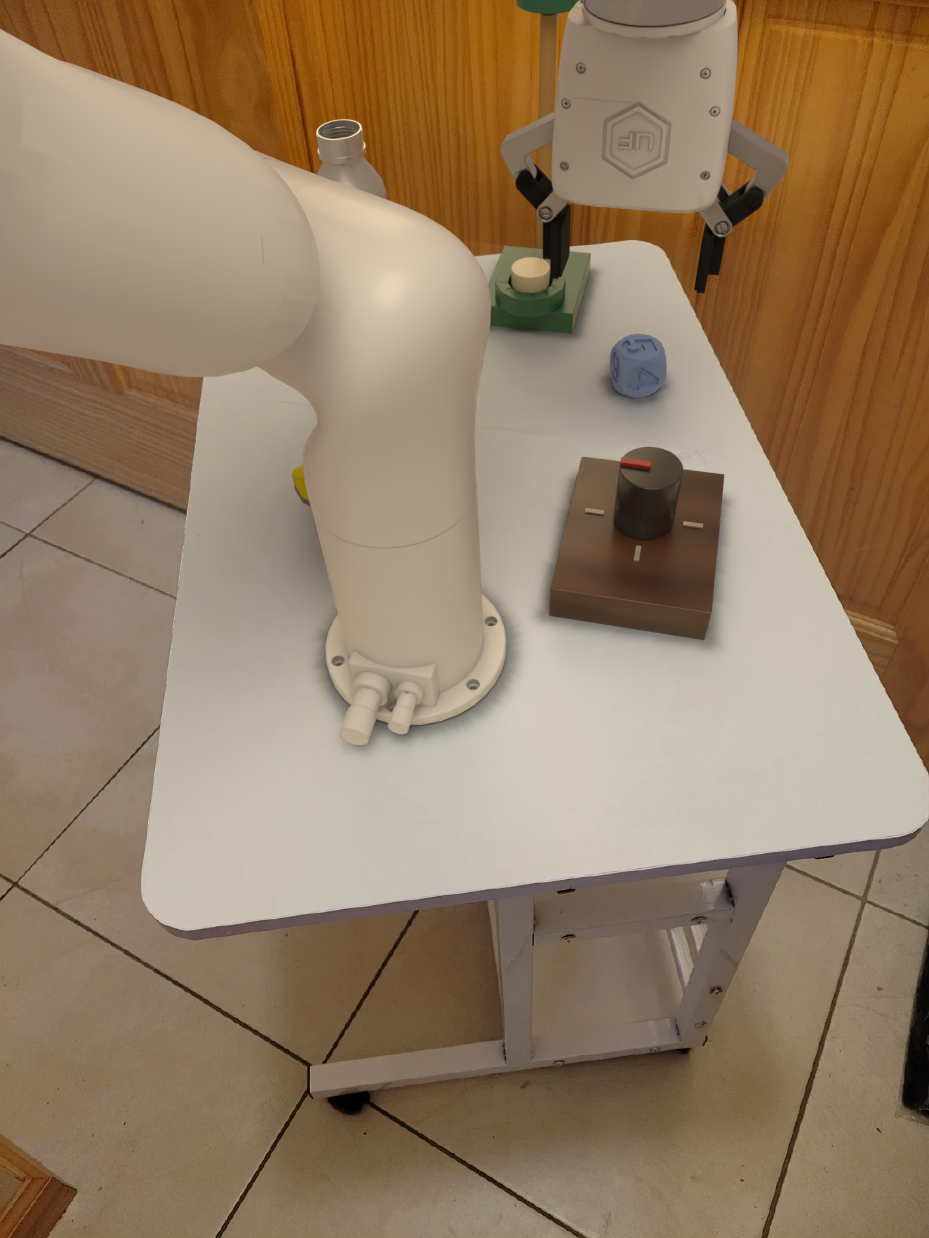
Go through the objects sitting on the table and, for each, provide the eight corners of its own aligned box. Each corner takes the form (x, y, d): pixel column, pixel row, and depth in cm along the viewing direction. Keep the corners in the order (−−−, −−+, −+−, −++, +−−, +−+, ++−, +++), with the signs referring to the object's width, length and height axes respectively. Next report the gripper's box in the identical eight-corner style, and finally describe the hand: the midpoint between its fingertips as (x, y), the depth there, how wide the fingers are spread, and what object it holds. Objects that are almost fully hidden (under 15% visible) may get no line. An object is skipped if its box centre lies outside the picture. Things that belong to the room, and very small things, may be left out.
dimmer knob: (677, 502, 67) (688, 447, 63) (669, 544, 64) (680, 490, 60) (618, 493, 68) (625, 438, 63) (608, 534, 65) (614, 480, 61)
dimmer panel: (704, 640, 62) (712, 611, 60) (548, 615, 64) (550, 587, 62) (717, 502, 71) (725, 472, 68) (579, 484, 73) (581, 454, 70)
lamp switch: (545, 296, 84) (546, 279, 82) (507, 293, 84) (507, 275, 83) (552, 275, 86) (553, 258, 84) (515, 272, 86) (515, 255, 85)
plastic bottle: (418, 339, 86) (397, 120, 71) (378, 377, 83) (346, 155, 67) (365, 321, 89) (332, 105, 73) (323, 357, 85) (280, 138, 70)
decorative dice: (663, 395, 79) (669, 357, 76) (619, 401, 79) (623, 363, 76) (650, 368, 82) (656, 330, 79) (607, 374, 82) (611, 336, 79)
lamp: (567, 258, 87) (583, -62, 67) (511, 253, 88) (509, -63, 68) (576, 229, 90) (594, -84, 70) (522, 224, 91) (524, -85, 71)
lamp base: (569, 341, 85) (572, 304, 82) (477, 332, 87) (476, 295, 84) (589, 273, 92) (592, 235, 89) (504, 265, 94) (503, 228, 91)
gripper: (478, 2, 47) (492, 293, 60) (824, 13, 43) (756, 321, 57) (513, -49, 51) (518, 234, 65) (831, -43, 47) (765, 256, 61)
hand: (629, 274), depth 61 cm, fingers open, 9 cm apart
